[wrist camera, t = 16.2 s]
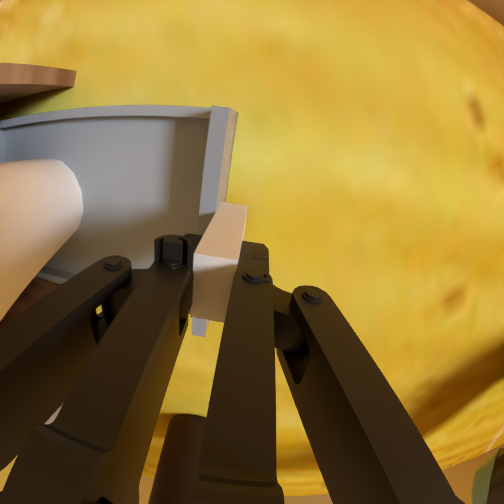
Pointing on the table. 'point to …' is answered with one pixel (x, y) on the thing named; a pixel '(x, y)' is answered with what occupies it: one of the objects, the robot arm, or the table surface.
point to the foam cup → (33, 220)
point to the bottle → (178, 461)
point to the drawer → (130, 176)
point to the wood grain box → (16, 86)
